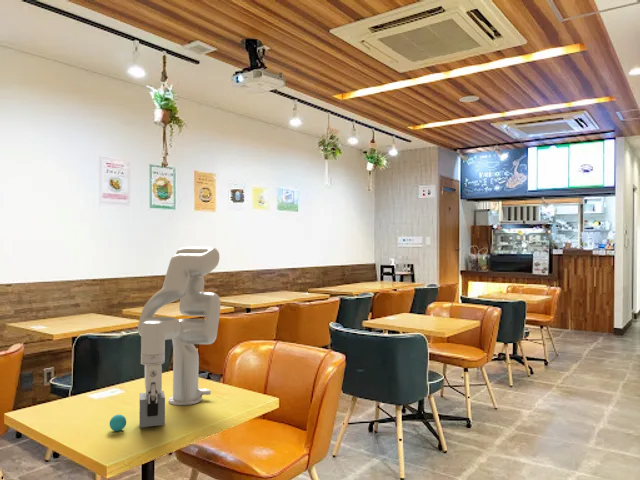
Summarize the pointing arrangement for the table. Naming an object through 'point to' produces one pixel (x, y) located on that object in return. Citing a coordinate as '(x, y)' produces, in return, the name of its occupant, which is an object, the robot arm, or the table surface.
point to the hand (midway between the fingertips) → (152, 411)
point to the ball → (117, 422)
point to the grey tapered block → (152, 420)
